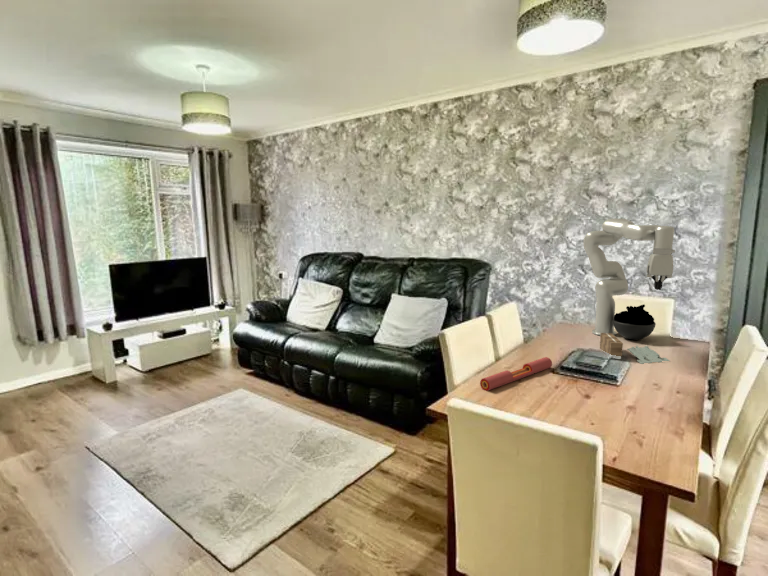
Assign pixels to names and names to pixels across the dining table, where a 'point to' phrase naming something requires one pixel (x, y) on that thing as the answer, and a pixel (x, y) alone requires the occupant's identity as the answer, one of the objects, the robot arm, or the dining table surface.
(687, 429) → the dining table surface
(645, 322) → the bowl of black rocks
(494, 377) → the blood vessel
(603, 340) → the block
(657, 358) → the metal bracket
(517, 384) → the dining table surface
